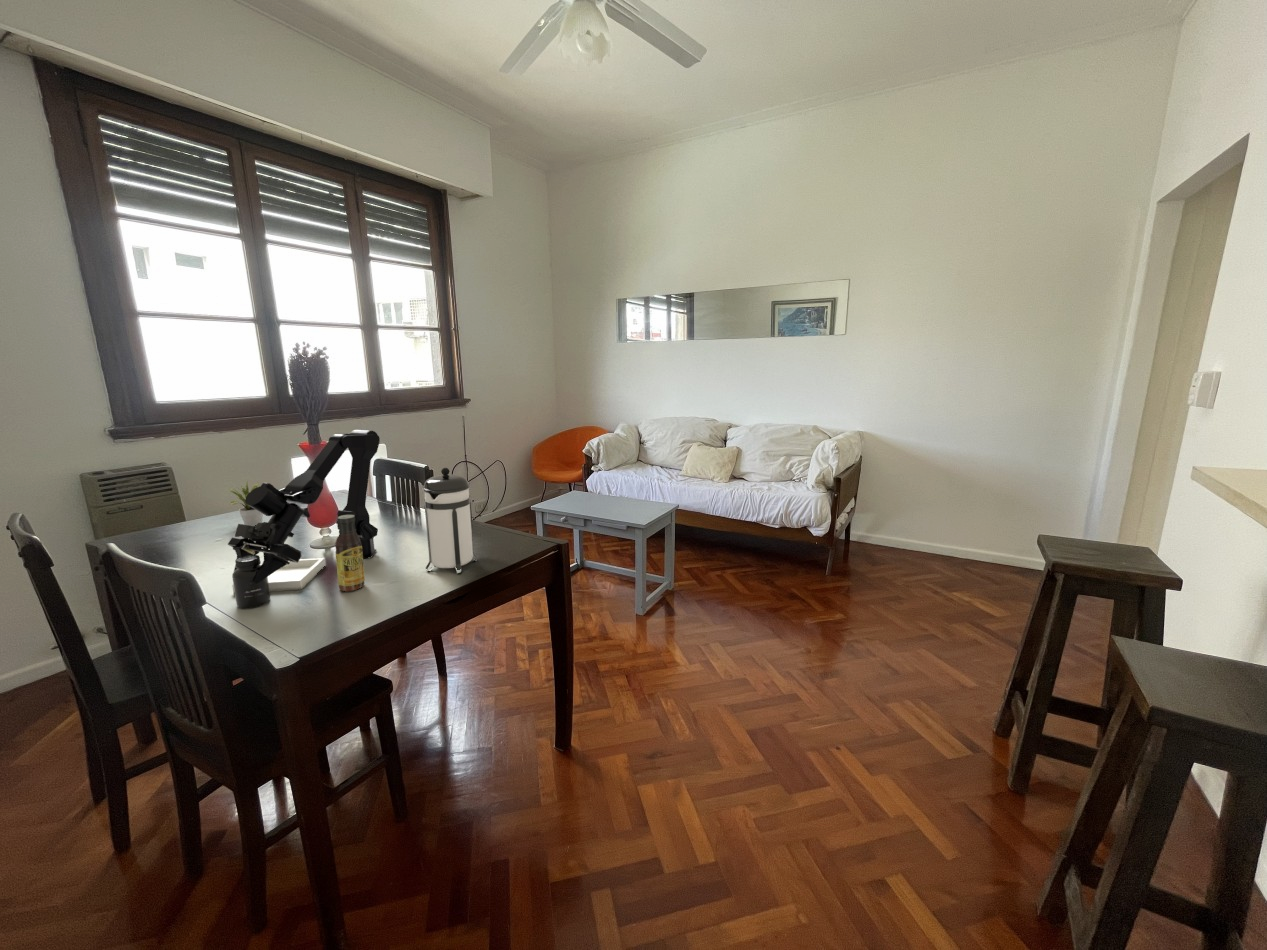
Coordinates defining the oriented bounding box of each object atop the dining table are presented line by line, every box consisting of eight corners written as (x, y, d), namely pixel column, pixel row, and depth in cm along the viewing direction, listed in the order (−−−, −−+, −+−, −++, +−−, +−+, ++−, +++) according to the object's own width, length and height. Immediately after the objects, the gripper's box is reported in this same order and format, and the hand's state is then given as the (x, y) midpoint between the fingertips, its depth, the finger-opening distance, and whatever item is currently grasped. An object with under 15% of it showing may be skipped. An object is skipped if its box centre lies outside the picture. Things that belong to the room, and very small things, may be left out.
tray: (325, 565, 149) (324, 557, 148) (301, 589, 133) (300, 580, 133) (265, 569, 146) (264, 561, 145) (233, 593, 130) (232, 584, 130)
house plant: (236, 534, 175) (228, 488, 171) (218, 527, 182) (210, 483, 178) (281, 523, 187) (275, 480, 183) (263, 517, 194) (256, 476, 190)
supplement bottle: (253, 610, 122) (245, 564, 119) (230, 608, 123) (221, 562, 120) (278, 598, 128) (270, 554, 126) (255, 595, 130) (248, 552, 127)
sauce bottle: (347, 594, 130) (337, 522, 126) (334, 589, 134) (324, 518, 129) (371, 585, 136) (363, 515, 131) (358, 580, 139) (350, 511, 135)
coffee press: (488, 569, 147) (482, 469, 141) (430, 580, 139) (421, 475, 133) (473, 550, 162) (467, 459, 155) (420, 559, 154) (411, 464, 147)
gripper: (229, 505, 127) (188, 562, 119) (283, 513, 121) (243, 573, 113) (265, 526, 136) (228, 580, 128) (317, 533, 130) (282, 590, 122)
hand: (244, 580), depth 123 cm, fingers closed on supplement bottle, 7 cm apart
